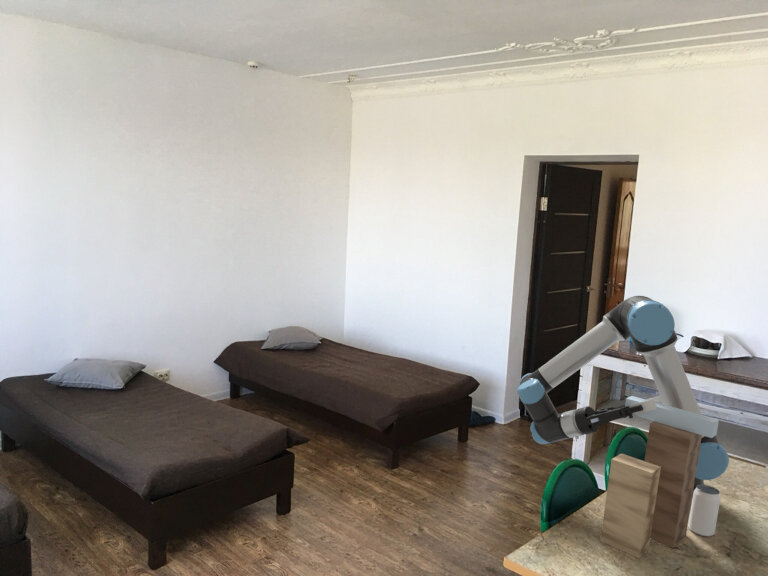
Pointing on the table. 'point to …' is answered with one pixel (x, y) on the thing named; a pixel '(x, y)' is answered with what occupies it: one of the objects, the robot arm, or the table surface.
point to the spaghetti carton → (678, 418)
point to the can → (704, 510)
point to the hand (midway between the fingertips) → (658, 402)
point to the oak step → (630, 504)
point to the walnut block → (672, 479)
